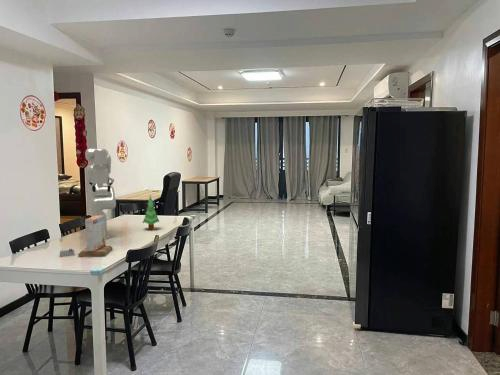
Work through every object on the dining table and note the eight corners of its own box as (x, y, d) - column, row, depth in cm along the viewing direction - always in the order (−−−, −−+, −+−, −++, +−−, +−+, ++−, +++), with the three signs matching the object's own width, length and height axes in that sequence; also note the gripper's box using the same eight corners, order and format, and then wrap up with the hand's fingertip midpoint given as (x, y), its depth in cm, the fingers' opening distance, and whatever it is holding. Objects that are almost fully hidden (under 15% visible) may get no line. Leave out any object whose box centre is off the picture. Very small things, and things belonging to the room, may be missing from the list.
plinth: (88, 250, 238) (87, 245, 238) (112, 249, 239) (112, 245, 239) (78, 257, 222) (78, 252, 222) (104, 256, 224) (104, 251, 223)
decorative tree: (158, 227, 312) (158, 193, 310) (160, 230, 298) (159, 195, 295) (142, 228, 308) (141, 193, 305) (143, 231, 293) (142, 195, 291)
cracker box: (97, 245, 238) (95, 214, 236) (105, 245, 238) (104, 215, 236) (86, 251, 224) (84, 218, 222) (95, 251, 224) (93, 218, 222)
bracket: (60, 255, 227) (60, 249, 227) (74, 253, 231) (74, 247, 230) (59, 257, 223) (59, 250, 222) (74, 255, 226) (73, 249, 226)
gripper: (85, 167, 239) (86, 192, 241) (111, 167, 240) (112, 192, 242) (89, 166, 246) (90, 191, 248) (115, 166, 248) (116, 191, 249)
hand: (101, 191), depth 245 cm, fingers open, 9 cm apart
